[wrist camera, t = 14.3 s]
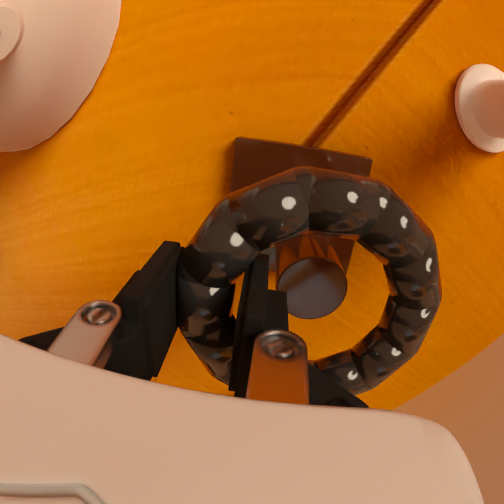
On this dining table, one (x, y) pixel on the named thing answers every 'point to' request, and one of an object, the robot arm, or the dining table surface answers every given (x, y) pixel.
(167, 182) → the dining table surface
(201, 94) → the dining table surface
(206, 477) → the robot arm
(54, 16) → the kettle
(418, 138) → the dining table surface
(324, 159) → the square plate with peg
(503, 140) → the candle
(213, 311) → the studded rubber donut
